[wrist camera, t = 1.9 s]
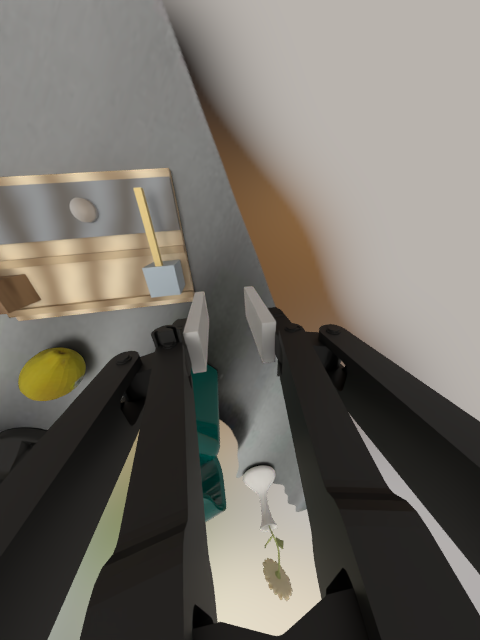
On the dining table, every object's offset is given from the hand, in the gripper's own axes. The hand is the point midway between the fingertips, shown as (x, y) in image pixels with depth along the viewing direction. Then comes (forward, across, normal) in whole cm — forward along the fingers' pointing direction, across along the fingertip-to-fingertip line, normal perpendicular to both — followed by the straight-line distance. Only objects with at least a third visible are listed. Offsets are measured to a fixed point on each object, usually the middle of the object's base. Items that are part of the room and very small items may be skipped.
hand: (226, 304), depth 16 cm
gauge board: (+17, -19, +4) cm, 26 cm away
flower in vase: (+17, +5, -71) cm, 73 cm away
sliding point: (+15, -8, +4) cm, 18 cm away
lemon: (+17, -30, -14) cm, 37 cm away
